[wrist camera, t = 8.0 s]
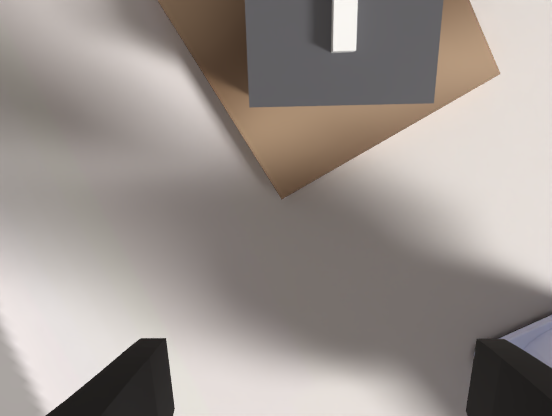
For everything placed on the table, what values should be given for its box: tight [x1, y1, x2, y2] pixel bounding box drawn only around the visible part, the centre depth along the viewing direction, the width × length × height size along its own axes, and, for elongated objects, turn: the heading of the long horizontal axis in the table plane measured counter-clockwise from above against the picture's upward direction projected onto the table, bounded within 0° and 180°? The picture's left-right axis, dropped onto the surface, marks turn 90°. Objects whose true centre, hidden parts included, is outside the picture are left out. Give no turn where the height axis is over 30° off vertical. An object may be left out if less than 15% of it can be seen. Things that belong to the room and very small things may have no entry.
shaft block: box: [158, 0, 500, 199], centre depth 14 cm, size 10×10×4 cm
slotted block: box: [245, 0, 443, 108], centre depth 13 cm, size 5×5×6 cm
